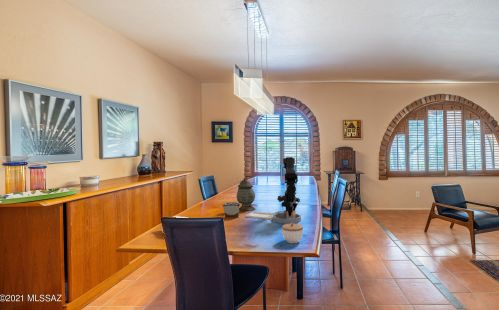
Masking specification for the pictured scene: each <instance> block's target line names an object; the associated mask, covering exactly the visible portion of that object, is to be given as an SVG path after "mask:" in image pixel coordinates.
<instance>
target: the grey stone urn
mask: <svg viewBox="0 0 499 310" xmlns="http://www.w3.org/2000/svg"><path fill="white" fill-rule="evenodd" d="M237 187H238V188H237V192H236V201H237V203H239V204H240V206H239V212H255V211H256V210H257V209H256V208H255V207H254V206H253V205H252V204H253V202H254V201H255V199H256V193H255V191H254V189H253V187H254V186H253V184H252V183H251V182H250V181H249V180H248V178H247V177H244V178H243V179H242V180H241V181H240V182H239V183H238V185H237Z"/></svg>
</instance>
